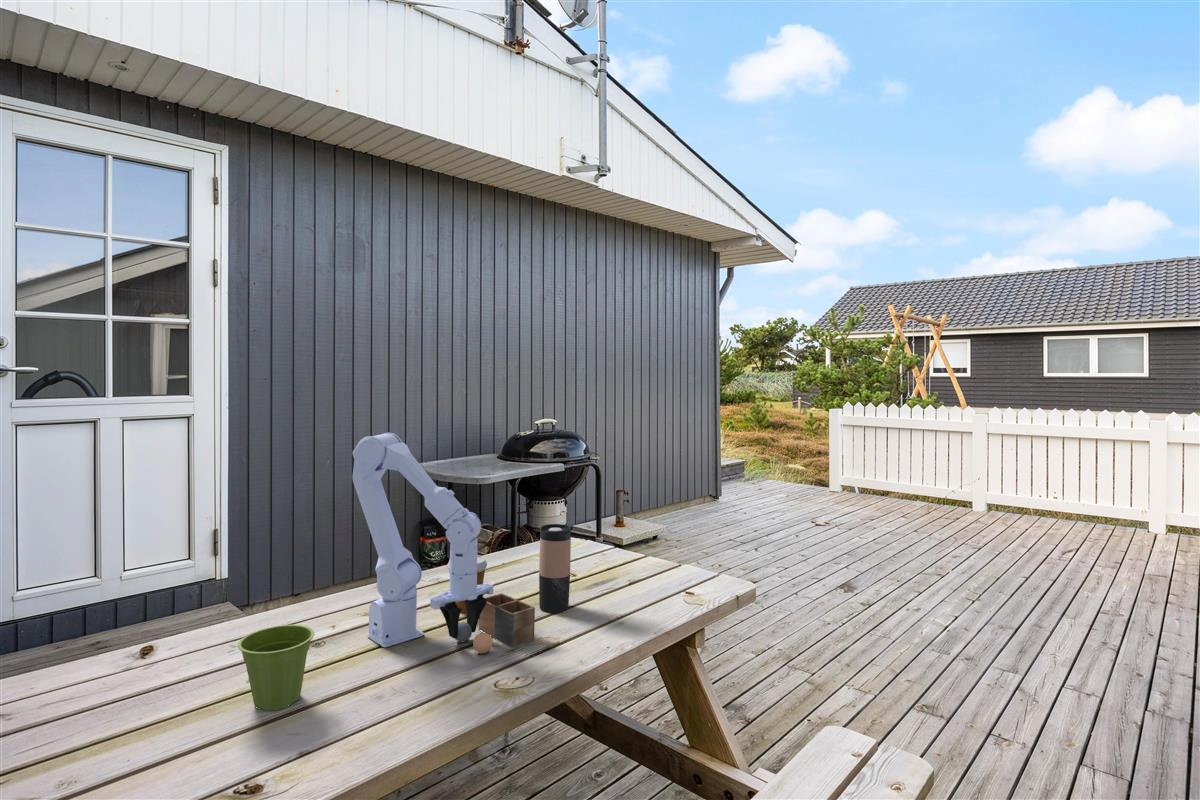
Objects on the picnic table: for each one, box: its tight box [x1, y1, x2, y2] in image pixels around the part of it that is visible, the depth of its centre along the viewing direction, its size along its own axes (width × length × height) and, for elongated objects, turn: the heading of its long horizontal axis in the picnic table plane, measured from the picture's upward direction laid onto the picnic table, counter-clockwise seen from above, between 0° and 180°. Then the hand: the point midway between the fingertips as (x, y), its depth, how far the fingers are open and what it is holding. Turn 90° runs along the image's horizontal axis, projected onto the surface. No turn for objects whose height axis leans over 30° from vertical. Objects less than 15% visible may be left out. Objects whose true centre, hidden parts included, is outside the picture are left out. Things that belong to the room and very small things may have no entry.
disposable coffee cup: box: [447, 554, 488, 613], centre depth 158 cm, size 10×10×12 cm
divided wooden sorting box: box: [478, 593, 536, 648], centre depth 143 cm, size 6×12×7 cm, turn 46°
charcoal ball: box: [454, 621, 473, 643], centre depth 139 cm, size 4×4×4 cm
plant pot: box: [237, 624, 315, 711], centre depth 112 cm, size 12×12×11 cm
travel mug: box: [538, 523, 572, 614], centre depth 159 cm, size 8×8×20 cm
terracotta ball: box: [472, 632, 494, 654], centre depth 133 cm, size 4×4×4 cm
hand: (462, 633), depth 139 cm, fingers closed on charcoal ball, 4 cm apart
